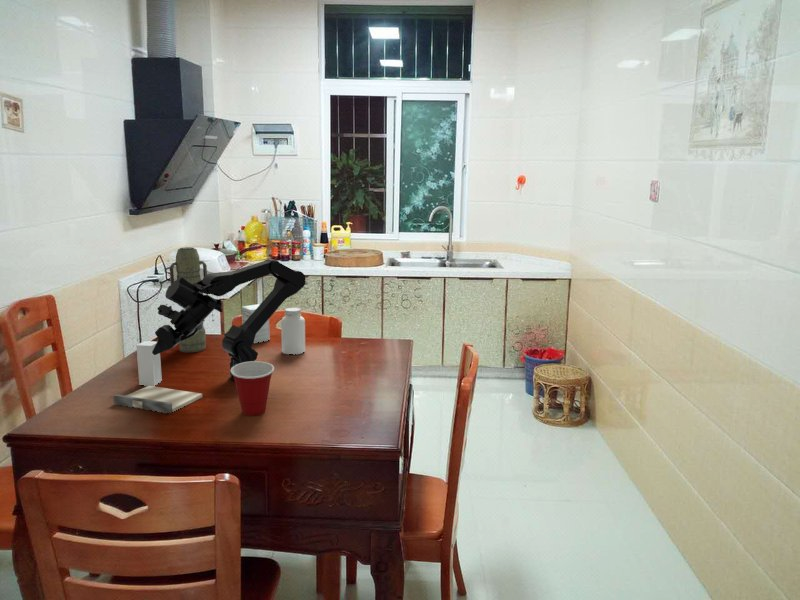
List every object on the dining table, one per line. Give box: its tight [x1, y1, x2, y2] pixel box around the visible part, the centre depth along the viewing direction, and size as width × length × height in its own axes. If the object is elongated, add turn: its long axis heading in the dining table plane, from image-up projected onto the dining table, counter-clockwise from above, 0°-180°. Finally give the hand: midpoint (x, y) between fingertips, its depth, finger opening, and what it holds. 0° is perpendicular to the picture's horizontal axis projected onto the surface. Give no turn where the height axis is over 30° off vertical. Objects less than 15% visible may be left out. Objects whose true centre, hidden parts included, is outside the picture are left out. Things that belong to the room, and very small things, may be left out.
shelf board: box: [113, 386, 203, 415], centre depth 168 cm, size 18×13×2 cm
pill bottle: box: [280, 307, 306, 356], centre depth 214 cm, size 8×8×15 cm
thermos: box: [169, 246, 208, 353], centre depth 214 cm, size 9×12×35 cm
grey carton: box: [136, 340, 163, 387], centre depth 181 cm, size 5×4×12 cm
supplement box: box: [241, 303, 271, 344], centre depth 228 cm, size 7×7×13 cm
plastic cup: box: [229, 360, 275, 417], centre depth 160 cm, size 11×11×12 cm
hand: (161, 349), depth 180 cm, fingers open, 9 cm apart
